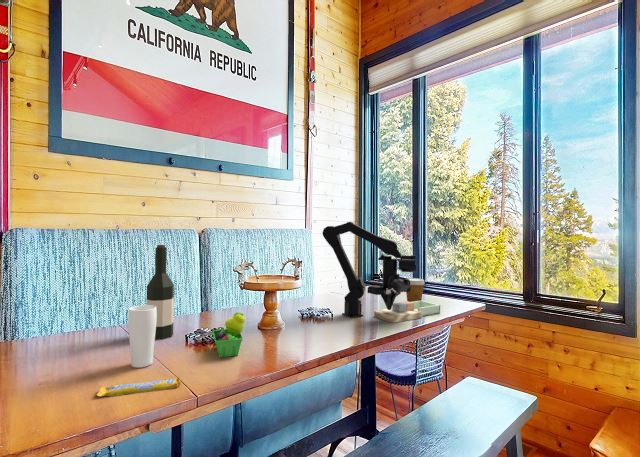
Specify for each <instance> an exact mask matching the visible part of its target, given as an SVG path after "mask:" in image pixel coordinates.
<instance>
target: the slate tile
mask: <svg viewBox="0 0 640 457" xmlns="http://www.w3.org/2000/svg"><path fill="white" fill-rule="evenodd" d="M401 302H402V301H400V302H398V301H397V302H393V305H392V308H393V311H396V312H405V311H407V304H404V303H401Z"/></svg>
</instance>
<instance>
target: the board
mask: <svg viewBox="0 0 640 457" xmlns="http://www.w3.org/2000/svg"><path fill="white" fill-rule="evenodd" d="M373 314H374V315H373V317H374V318H377V319H380V320H382V321H386V322H389V323H393V324H395V323H400V322H405V321H412V320H417V319H422V317H423V316H422V312H420V311H416V310H412V311H405V312H396V311H393V307H392V308H391V310H388V309H387V308H385V309H377V310H374V311H373Z"/></svg>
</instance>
